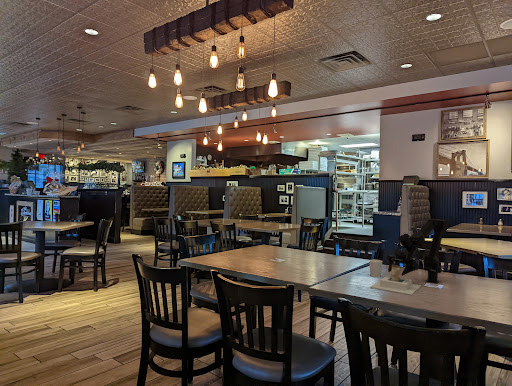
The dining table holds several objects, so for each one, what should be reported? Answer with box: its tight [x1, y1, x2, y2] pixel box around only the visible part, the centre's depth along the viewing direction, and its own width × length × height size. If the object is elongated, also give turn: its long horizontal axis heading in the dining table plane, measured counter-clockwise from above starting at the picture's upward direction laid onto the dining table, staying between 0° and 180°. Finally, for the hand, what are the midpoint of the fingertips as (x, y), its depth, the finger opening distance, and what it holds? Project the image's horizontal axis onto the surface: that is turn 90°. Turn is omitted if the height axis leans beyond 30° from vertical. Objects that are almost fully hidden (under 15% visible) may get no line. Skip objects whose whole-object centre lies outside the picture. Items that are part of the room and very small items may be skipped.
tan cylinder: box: [391, 264, 402, 282], centre depth 201 cm, size 5×5×12 cm
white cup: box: [369, 259, 383, 278], centre depth 229 cm, size 8×8×10 cm
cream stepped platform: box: [369, 275, 422, 296], centre depth 202 cm, size 24×22×4 cm
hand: (395, 273), depth 201 cm, fingers open, 9 cm apart
